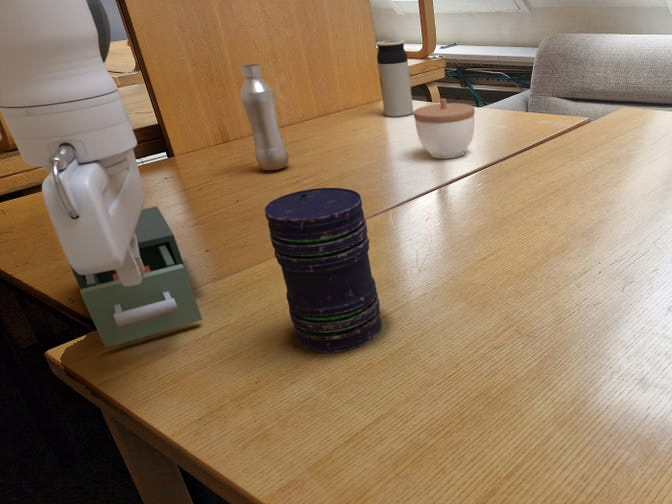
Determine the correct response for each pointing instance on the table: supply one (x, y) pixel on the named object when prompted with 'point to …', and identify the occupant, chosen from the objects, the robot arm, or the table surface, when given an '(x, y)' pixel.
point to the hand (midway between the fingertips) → (134, 279)
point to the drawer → (141, 300)
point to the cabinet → (149, 238)
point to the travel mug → (394, 78)
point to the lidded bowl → (445, 128)
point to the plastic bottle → (263, 119)
